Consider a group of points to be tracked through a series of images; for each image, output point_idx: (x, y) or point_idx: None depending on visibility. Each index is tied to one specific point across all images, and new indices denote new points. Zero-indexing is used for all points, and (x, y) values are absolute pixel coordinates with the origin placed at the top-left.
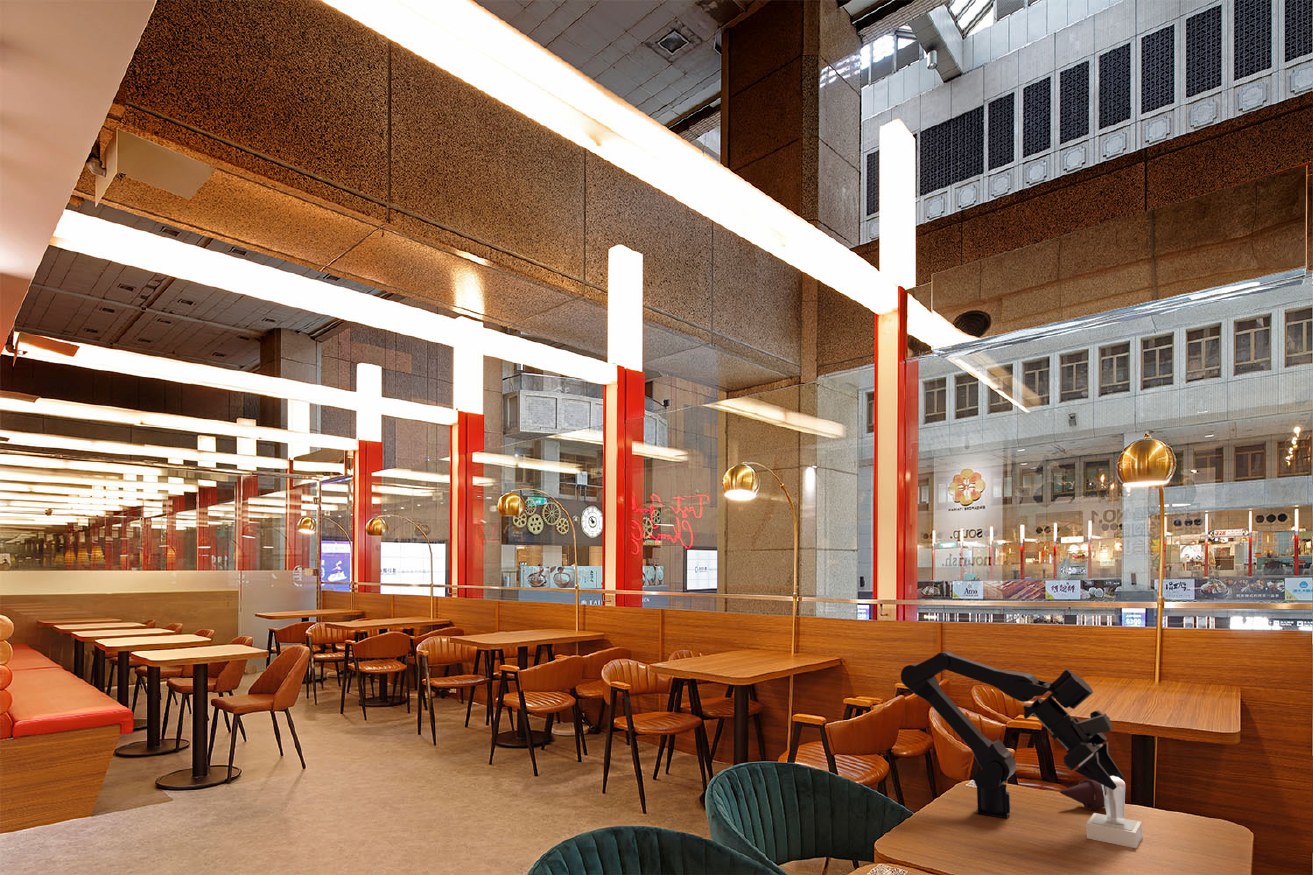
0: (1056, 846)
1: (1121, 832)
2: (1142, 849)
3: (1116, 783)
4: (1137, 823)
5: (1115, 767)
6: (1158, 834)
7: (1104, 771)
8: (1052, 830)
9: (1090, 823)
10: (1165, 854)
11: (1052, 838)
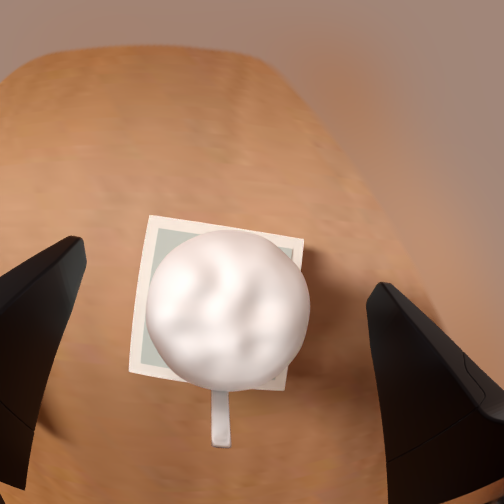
0: (379, 420)
1: None
2: (287, 231)
3: (306, 287)
4: (178, 228)
5: (36, 285)
6: (109, 185)
7: (465, 356)
8: (253, 457)
9: (280, 378)
10: (294, 179)
11: (325, 443)
